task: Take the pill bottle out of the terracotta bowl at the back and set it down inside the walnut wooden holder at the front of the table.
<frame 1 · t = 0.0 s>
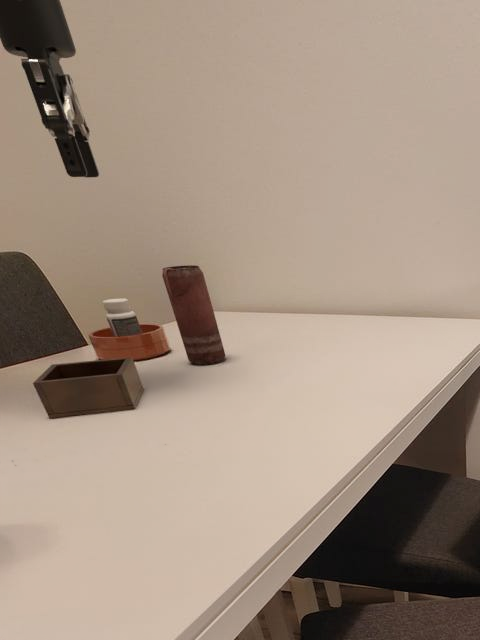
hand: (85, 177, 77), 25 cm above the table, tool pointing down, fingers open, 8 cm apart
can: (207, 362, 102), on the table
bowl: (135, 354, 107), on the table
holder: (99, 402, 84), on the table
pill bottle: (134, 353, 107), resting on bowl
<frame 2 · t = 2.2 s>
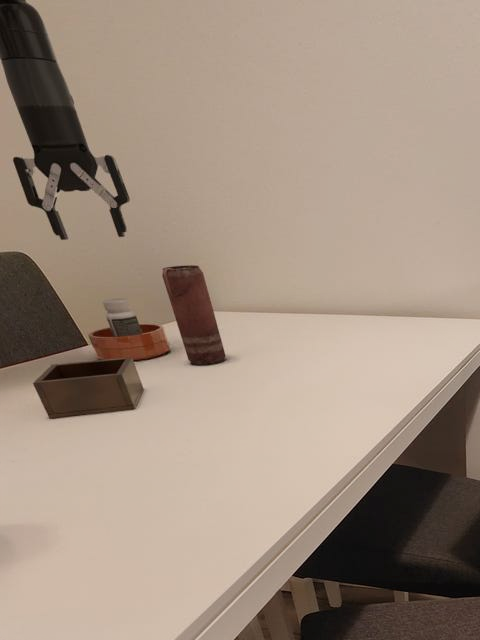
hand: (93, 238, 96), 18 cm above the table, tool pointing down, fingers open, 8 cm apart
nothing on the table moved.
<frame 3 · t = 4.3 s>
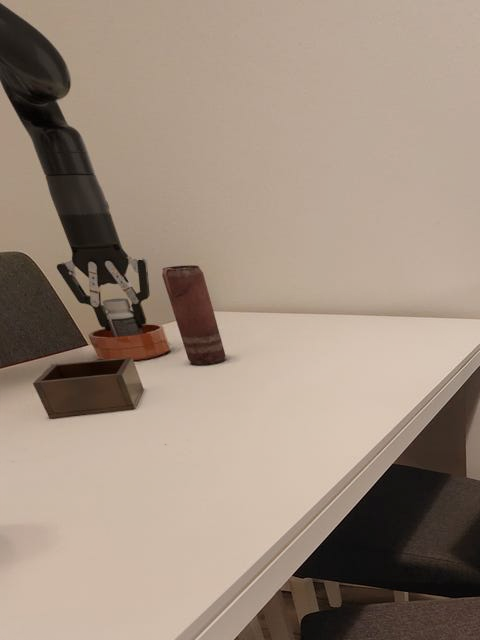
hand: (125, 328, 105), 4 cm above the table, tool pointing down, fingers closed on pill bottle, 4 cm apart
pill bottle: (134, 353, 107), resting on bowl, touching gripper
everything else where it was.
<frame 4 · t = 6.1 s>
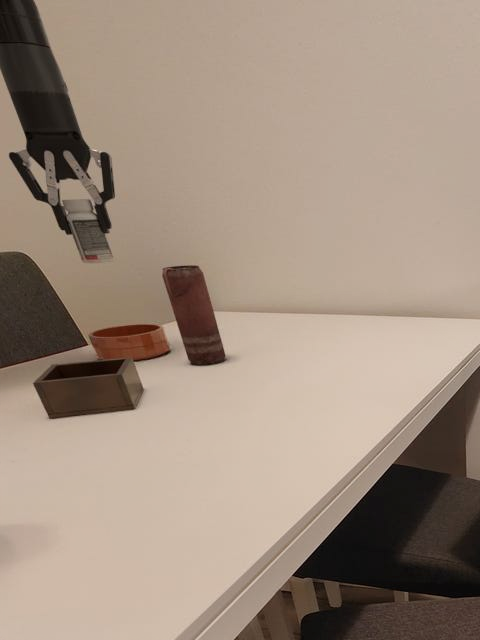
hand: (88, 233, 95), 18 cm above the table, tool pointing down, fingers closed on pill bottle, 4 cm apart
pill bottle: (99, 263, 98), point 14 cm above the table, touching gripper
everything else where it was.
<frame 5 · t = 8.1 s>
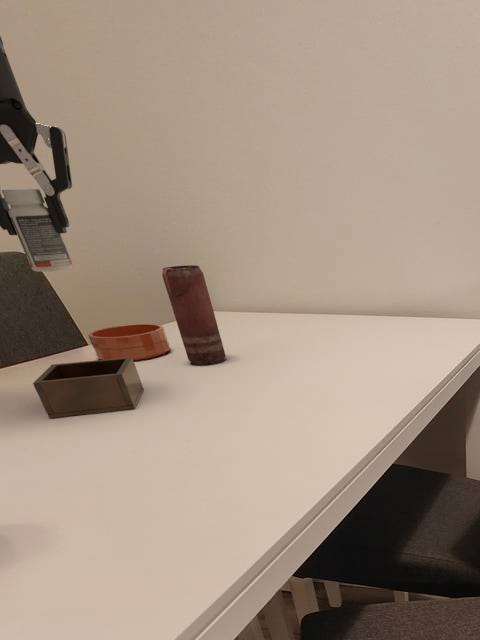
hand: (38, 233, 74), 20 cm above the table, tool pointing down, fingers closed on pill bottle, 4 cm apart
pill bottle: (54, 271, 77), point 16 cm above the table, touching gripper
everything else where it was.
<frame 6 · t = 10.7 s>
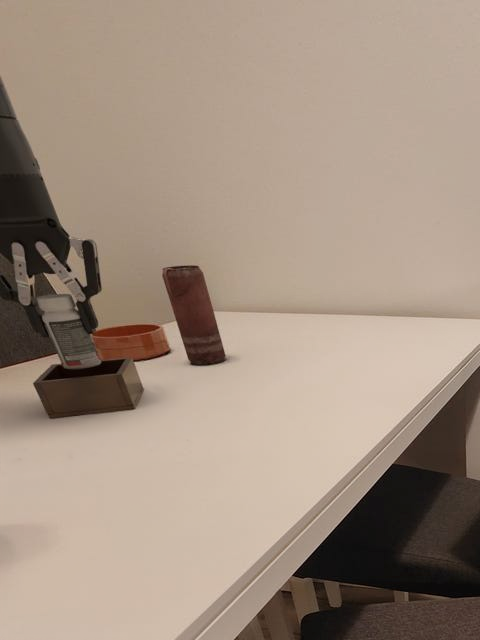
hand: (70, 333, 78), 9 cm above the table, tool pointing down, fingers closed on pill bottle, 4 cm apart
pill bottle: (83, 367, 81), point 5 cm above the table, touching gripper
everything else where it was.
when the fingers open (4 cm above the table, at t = 12.3 s): pill bottle stays where it is, resting on holder.
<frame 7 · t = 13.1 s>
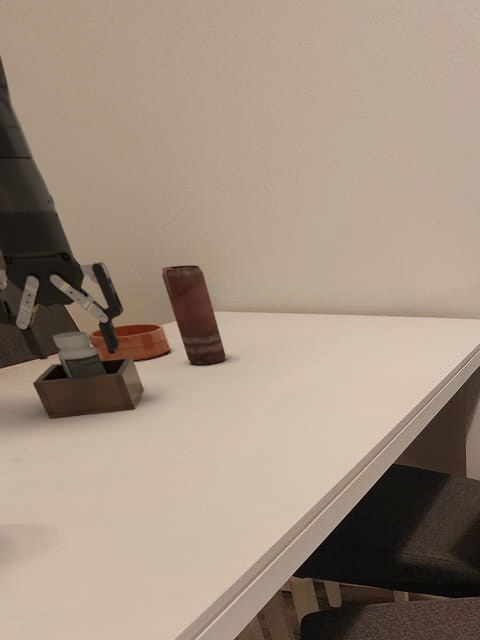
hand: (79, 355, 80), 6 cm above the table, tool pointing down, fingers open, 8 cm apart
pill bottle: (97, 400, 83), resting on holder
everything else where it was.
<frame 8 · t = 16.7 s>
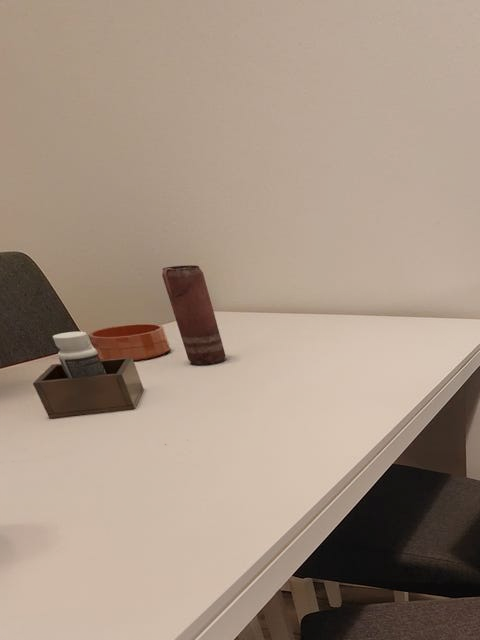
nothing on the table moved.
at the end: pill bottle inside the target area in the holder (0.1 cm from its centre), point 0.3 cm above the holder's base; pill bottle tilted 0°; the gripper is holding nothing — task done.
